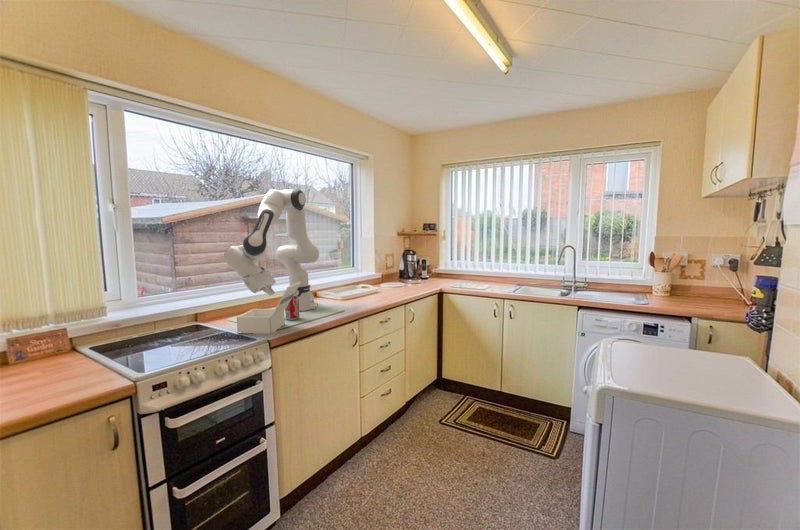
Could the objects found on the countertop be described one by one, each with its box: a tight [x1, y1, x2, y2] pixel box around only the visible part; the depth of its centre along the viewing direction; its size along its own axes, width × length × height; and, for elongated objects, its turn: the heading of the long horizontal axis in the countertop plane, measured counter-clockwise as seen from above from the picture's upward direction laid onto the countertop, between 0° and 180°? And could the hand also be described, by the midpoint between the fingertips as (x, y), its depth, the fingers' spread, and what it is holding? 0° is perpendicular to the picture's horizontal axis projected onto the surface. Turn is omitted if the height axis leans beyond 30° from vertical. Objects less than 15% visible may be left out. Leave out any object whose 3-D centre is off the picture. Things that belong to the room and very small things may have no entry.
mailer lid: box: [271, 282, 301, 317], centre depth 166 cm, size 16×16×1 cm
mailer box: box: [236, 308, 285, 335], centre depth 168 cm, size 16×16×8 cm
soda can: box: [284, 294, 300, 321], centre depth 186 cm, size 7×7×13 cm
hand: (272, 294), depth 166 cm, fingers closed
